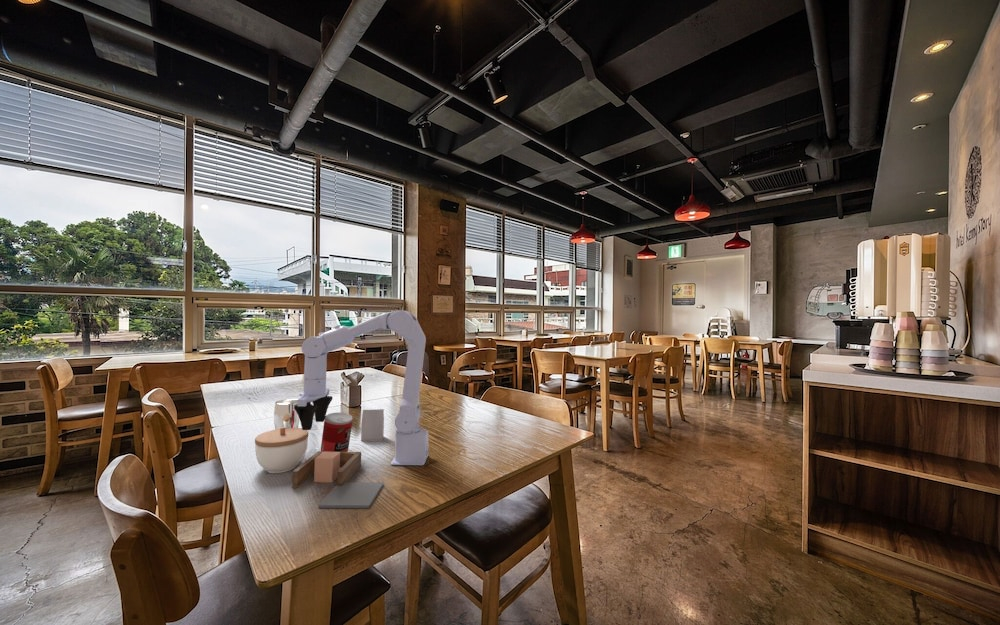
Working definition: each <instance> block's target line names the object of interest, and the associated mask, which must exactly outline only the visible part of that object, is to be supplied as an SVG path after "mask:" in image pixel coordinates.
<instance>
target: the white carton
mask: <svg viewBox="0 0 1000 625" xmlns="http://www.w3.org/2000/svg"><path fill="white" fill-rule="evenodd" d="M298 399H299V398H287V399H280V400H277V401H275V404H274V410H273V411H274V412H273V413H274V414H273V424H274V430H276V429H280V428H281V427H285V428H299V424H300V418H299V416H298V414H297V412H296V410H295V409H294V405H296V404H298Z"/></svg>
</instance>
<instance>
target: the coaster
mask: <svg viewBox="0 0 1000 625" xmlns="http://www.w3.org/2000/svg"><path fill="white" fill-rule="evenodd" d="M384 484H385V483H384V482H381V481H380V482H378V481H375V482H374V481H371V482H370V481H369V482H367V481H366V482H365V481H363V482H362V481H360V482H359V481H358V482H357V481H348V482H345V483H344V484H343V485H342V486H337V484H336V485H335V486H334V487H333V488H332V489H331V490H330V492H329V493H327V494H326V496H325V497H324V498H323V499H322V500H321V502H320V503H318V507H317V508H318V509H369V508H370V507H371V505H372V504H373V502H374V501H375V499H376V498H377V496H378V494H379V493H380V491H381V489H382V488H383V487H384Z"/></svg>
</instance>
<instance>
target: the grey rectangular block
mask: <svg viewBox="0 0 1000 625" xmlns="http://www.w3.org/2000/svg"><path fill="white" fill-rule="evenodd" d="M384 415H385V414H384V408H381V409H379V408H378V409H373V408H371V409H362V415H361V416H362V417H361V425H360V426H361V430H360V433H361V434H360V436H361V437H360V441H361V442H369V441H370V442H373V441H376V442H377V441H383V439H384V431H385V430H384V429H385V416H384Z"/></svg>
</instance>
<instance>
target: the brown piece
mask: <svg viewBox="0 0 1000 625" xmlns="http://www.w3.org/2000/svg"><path fill="white" fill-rule="evenodd" d="M322 452H330V451H321V450H320V451H319V450H318V451H316V452H315V453H314V454H313V455H311V456H310V457H309V458H307V459H306V460H305V461H304V462H302V463H301V464H300V465H299V466H296V467H295V468H294V470H292V475H291V476H292V479H291V480H292V483H291V488H293V489H298V488H299V487H300V486H301V485H302V484H303V483H304V482H306V481H307V480H308V479H309V478H310V477H311V476H313V474H314V471H315V458H316V457H317V456H318V455H320V454H321V453H322ZM361 466H362V452H361V451H348V452H340V470H339V471H338V472H337V478H336V480H337V481H336V485H337V486H342V485H343V484H344V483H345V482H350V480H351V478H352V477H353V476H354V475H355V474H356V473H357V471H358V470H359V469H360V468H361Z"/></svg>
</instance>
